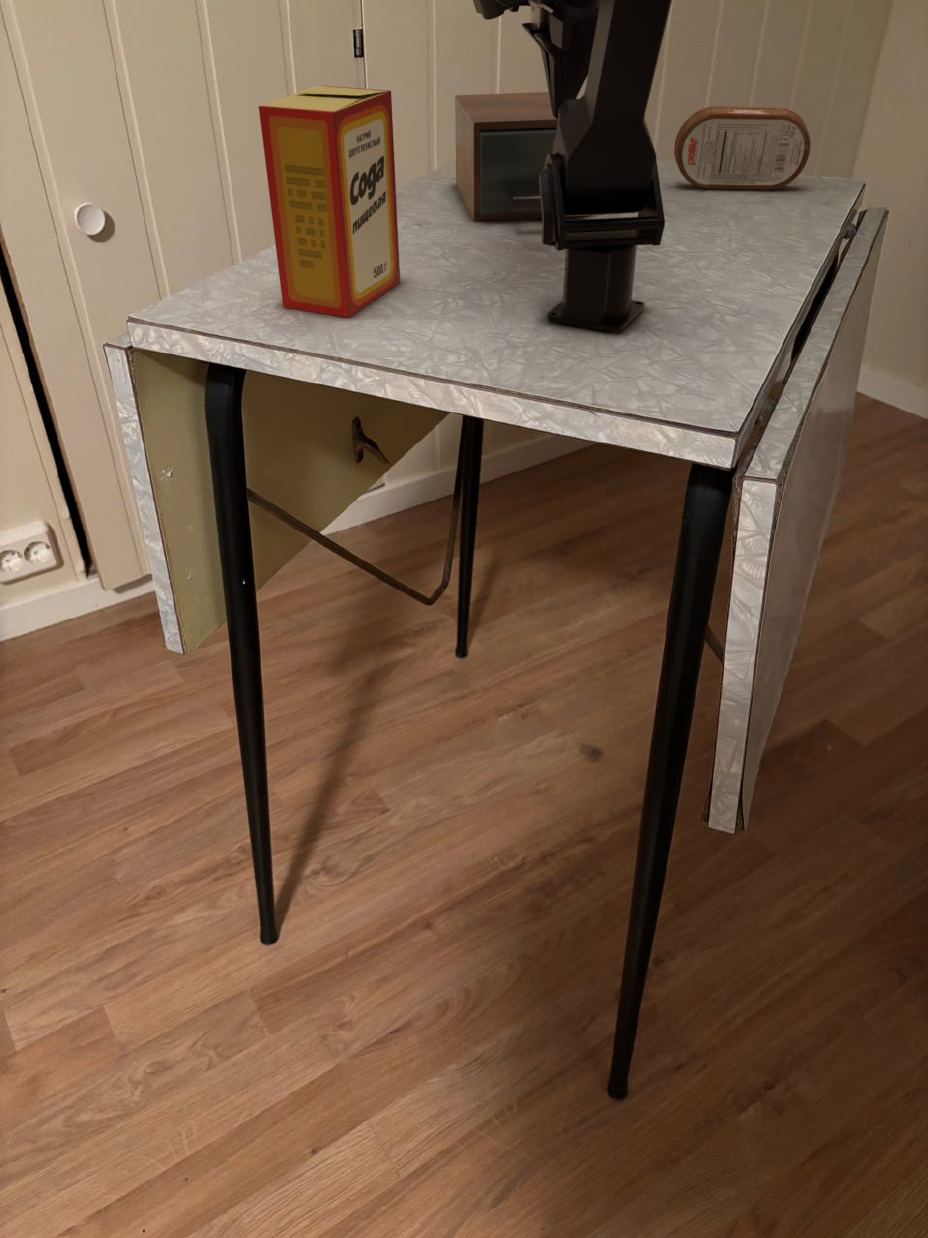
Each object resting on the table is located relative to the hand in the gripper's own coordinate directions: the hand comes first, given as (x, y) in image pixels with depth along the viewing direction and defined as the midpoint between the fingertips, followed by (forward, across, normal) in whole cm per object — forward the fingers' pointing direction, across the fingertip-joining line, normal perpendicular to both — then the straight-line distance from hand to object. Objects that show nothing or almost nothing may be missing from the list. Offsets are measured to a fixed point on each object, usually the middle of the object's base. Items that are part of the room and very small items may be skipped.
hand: (559, 117), depth 89 cm
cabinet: (+13, -18, +2) cm, 22 cm away
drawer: (+12, -14, +1) cm, 18 cm away
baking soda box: (+12, +8, -22) cm, 26 cm away
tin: (+13, -16, +27) cm, 35 cm away
